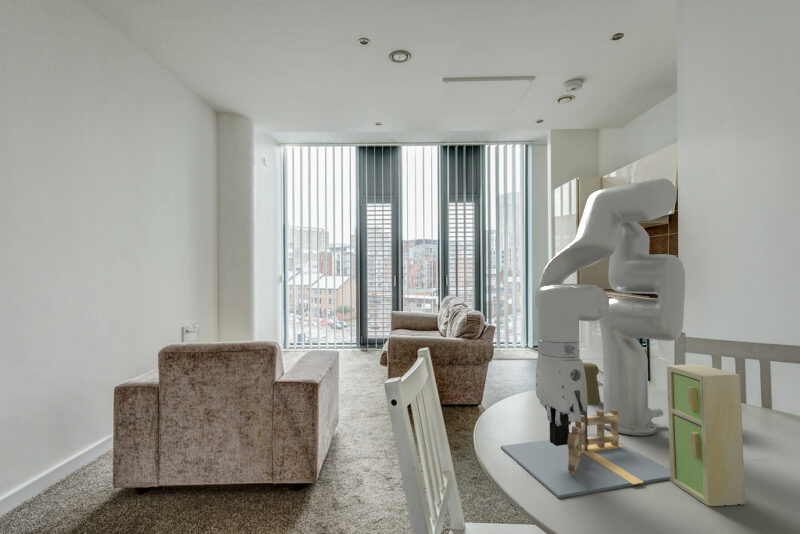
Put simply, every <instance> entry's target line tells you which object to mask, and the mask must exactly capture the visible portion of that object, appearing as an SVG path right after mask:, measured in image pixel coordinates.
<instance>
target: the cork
mask: <svg viewBox="0 0 800 534" xmlns="http://www.w3.org/2000/svg"><path fill="white" fill-rule="evenodd" d="M583 366H584V371H585V377H586V386H587V402H588V405H600V404H601V395H600V390H599V383H598V382H599V381H598V374H599V372H600V371H599V366H598V365H596V364H594V363H591V362H583ZM599 403H600V404H599Z"/></svg>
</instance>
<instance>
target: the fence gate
mask: <svg viewBox="0 0 800 534" xmlns="http://www.w3.org/2000/svg"><path fill="white" fill-rule="evenodd" d="M580 416H581V421H580V422H574V423H575V425H572V427H571V432H570V431H569V434H568V455H569V463H568V471H569V474H571V475H575V473H576V469H577V467H578V466H579V462H580V460H581V459H582V455H583V452H584V451H585V447H586V441H585V415H580Z"/></svg>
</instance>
